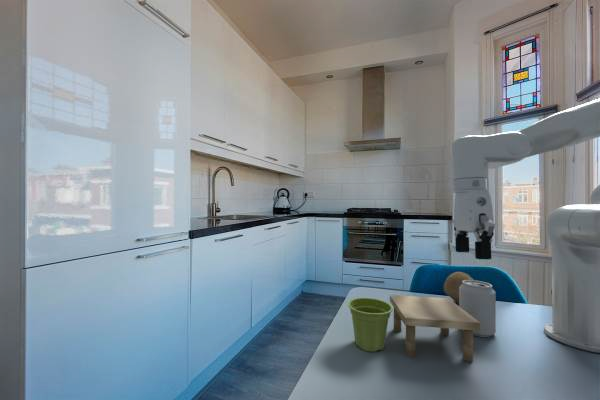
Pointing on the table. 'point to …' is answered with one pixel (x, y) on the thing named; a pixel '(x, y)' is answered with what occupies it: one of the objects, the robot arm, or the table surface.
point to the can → (479, 305)
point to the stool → (433, 320)
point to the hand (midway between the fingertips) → (472, 255)
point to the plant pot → (370, 322)
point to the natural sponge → (455, 284)
